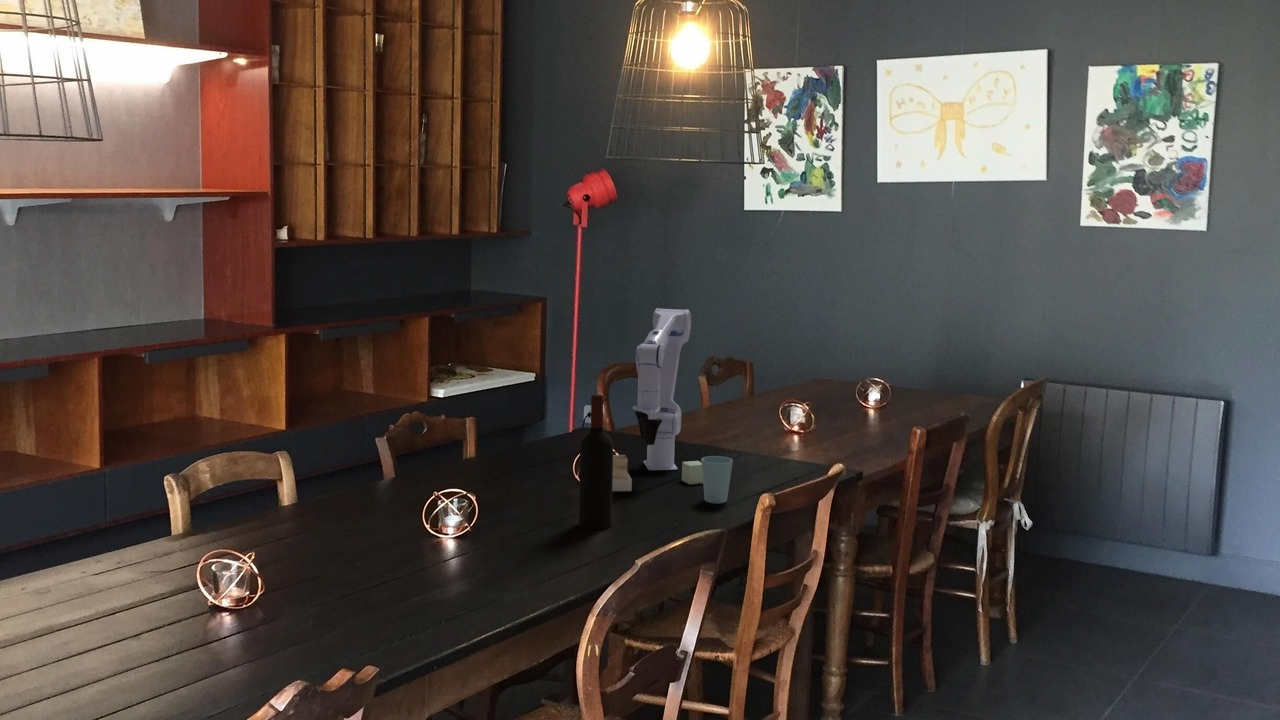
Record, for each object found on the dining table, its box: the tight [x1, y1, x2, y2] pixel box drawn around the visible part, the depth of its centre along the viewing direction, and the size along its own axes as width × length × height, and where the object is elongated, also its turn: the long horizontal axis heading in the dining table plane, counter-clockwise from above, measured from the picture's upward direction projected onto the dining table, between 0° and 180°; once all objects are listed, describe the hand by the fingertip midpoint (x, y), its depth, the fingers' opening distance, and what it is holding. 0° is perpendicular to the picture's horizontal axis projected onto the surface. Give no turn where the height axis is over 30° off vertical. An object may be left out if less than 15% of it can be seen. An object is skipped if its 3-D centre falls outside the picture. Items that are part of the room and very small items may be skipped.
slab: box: [612, 472, 633, 492], centre depth 314 cm, size 7×7×3 cm
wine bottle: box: [578, 394, 614, 531], centre depth 278 cm, size 8×8×30 cm
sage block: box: [681, 460, 703, 485], centre depth 322 cm, size 4×4×5 cm
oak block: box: [613, 454, 629, 478], centre depth 313 cm, size 4×4×5 cm
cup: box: [700, 455, 734, 504], centre depth 303 cm, size 8×8×10 cm
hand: (647, 441), depth 321 cm, fingers open, 7 cm apart
